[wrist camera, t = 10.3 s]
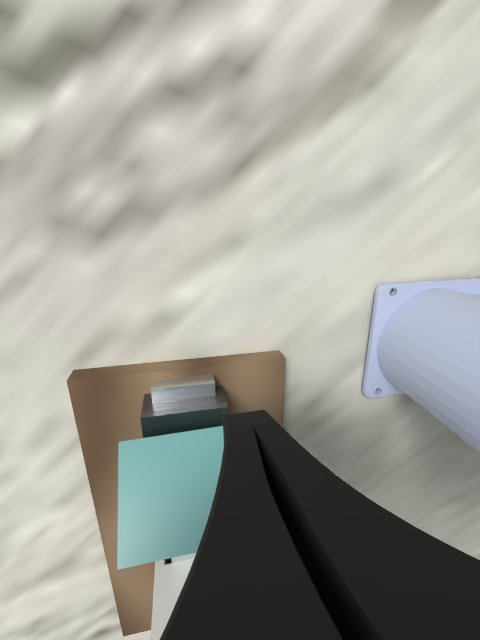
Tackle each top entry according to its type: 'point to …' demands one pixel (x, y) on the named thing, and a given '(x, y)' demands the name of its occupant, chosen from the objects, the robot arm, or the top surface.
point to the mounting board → (124, 424)
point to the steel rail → (182, 410)
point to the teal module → (166, 494)
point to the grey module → (166, 592)
